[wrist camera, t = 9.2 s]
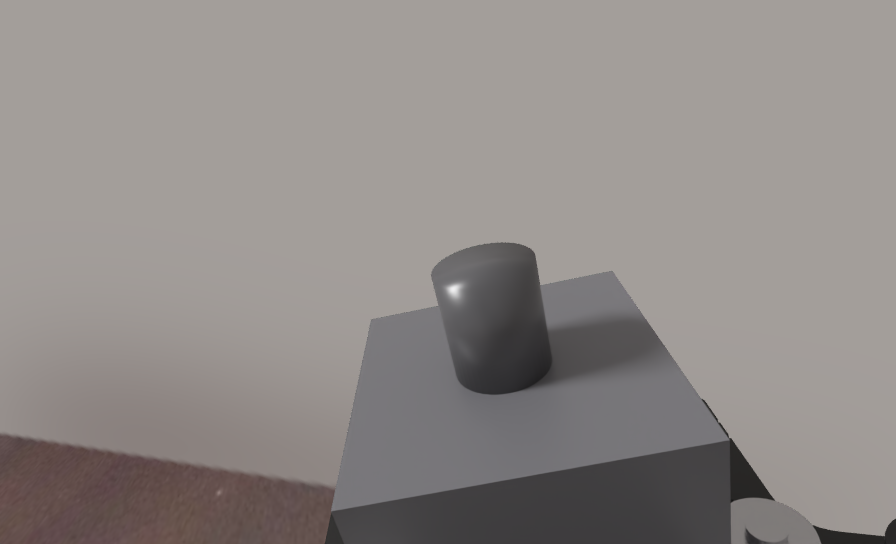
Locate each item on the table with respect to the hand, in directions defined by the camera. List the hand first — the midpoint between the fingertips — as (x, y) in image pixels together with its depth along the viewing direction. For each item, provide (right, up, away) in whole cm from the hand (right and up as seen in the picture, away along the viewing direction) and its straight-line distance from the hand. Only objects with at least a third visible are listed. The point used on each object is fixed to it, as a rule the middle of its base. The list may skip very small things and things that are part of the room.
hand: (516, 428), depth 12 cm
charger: (+2, -8, +1) cm, 8 cm away
